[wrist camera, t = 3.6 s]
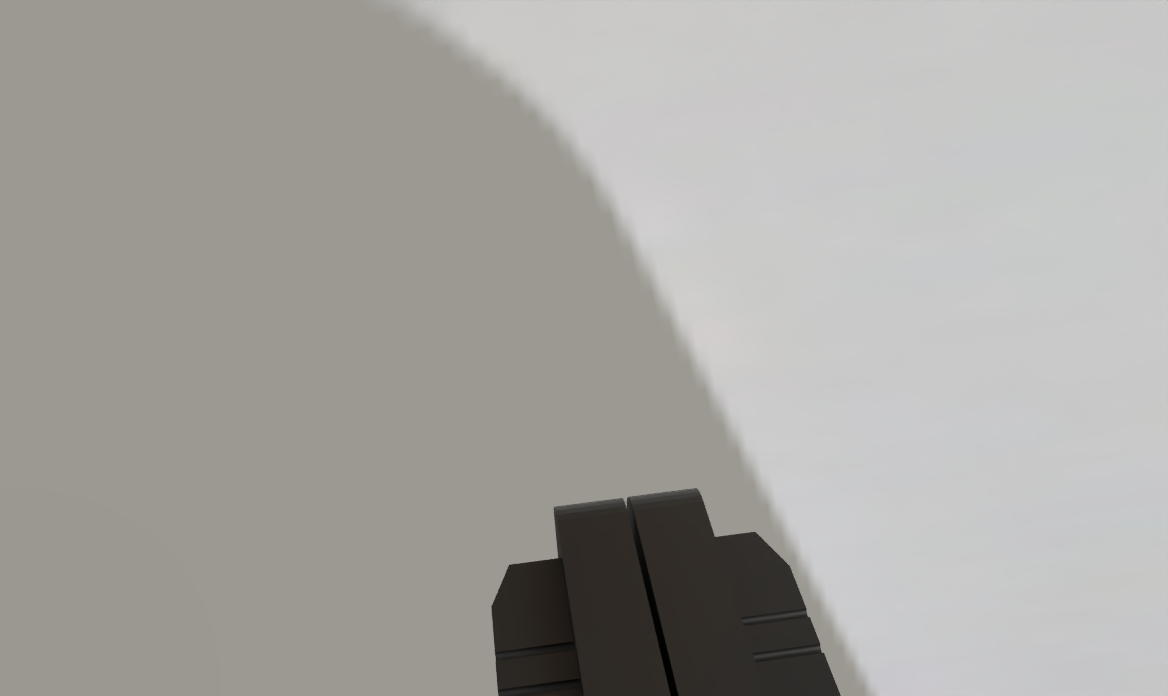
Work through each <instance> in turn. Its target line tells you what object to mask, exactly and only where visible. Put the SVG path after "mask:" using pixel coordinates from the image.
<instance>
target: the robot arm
mask: <svg viewBox="0 0 1168 696" xmlns="http://www.w3.org/2000/svg"><path fill="white" fill-rule="evenodd" d="M554 518H555V528H556V539H557V550H558V558H557V559H550V560H543V561H535V562H528V563H520V564H512V565H509V567H508V569H507V571H506V574H505V577H504V579H503V581H502V584H501V586H500V588H499V590H498V593H497V595H496V598H495V600H494V602H493V605H492V619H493V632H494V644H495V655H496V672H497V685H498V695H499V696H840V693H839V690H838V688H837V685H836V683H835V680H834V678H833V675H832V673H831V670H830V668H829V665H828V663H827V660H826V657H825V655H824V653H822V652H821V648H820V642H819V639H818V637H817V634H816V632H815V630H814V627H813V624H812V622H811V619H810V617H808V616H807V612H806V606H805V604H804V601H803V599H802V596H801V594H800V591H799V589H798V586H797V584H796V581H795V578H794V576H793V573H792V571H791V568H790V566H789V565H788V564H787V563H786V562H785V561H784V560H783V559H782V558H781V557H780V556H779V555H778V554H777V553H776V552H775V551H774V550H773V549H772V548H771V547H770V546H769V545H768V544H767V543H766V542H765V541H764V540H763V539H762V538H761V537H760V536H759V535H758V534H757V533H756V532H751V533H743V534H735V535H728V536H720V537H715V536H714V533H713V530H712V527H711V524H710V521H709V517H708V514H707V511H706V509H705V505H704V502H703V499H702V496H701V494H700V492H699V491H698V489H697V488H694V489H686V490H679V491H671V492H663V493H655V494H647V495H640V496H632V497H628V498H627V509H626V505H625V502H624V500H623V498H620V499H612V500H604V501H596V502H588V503H581V504H573V505H566V506H557V507H554Z"/></svg>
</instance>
